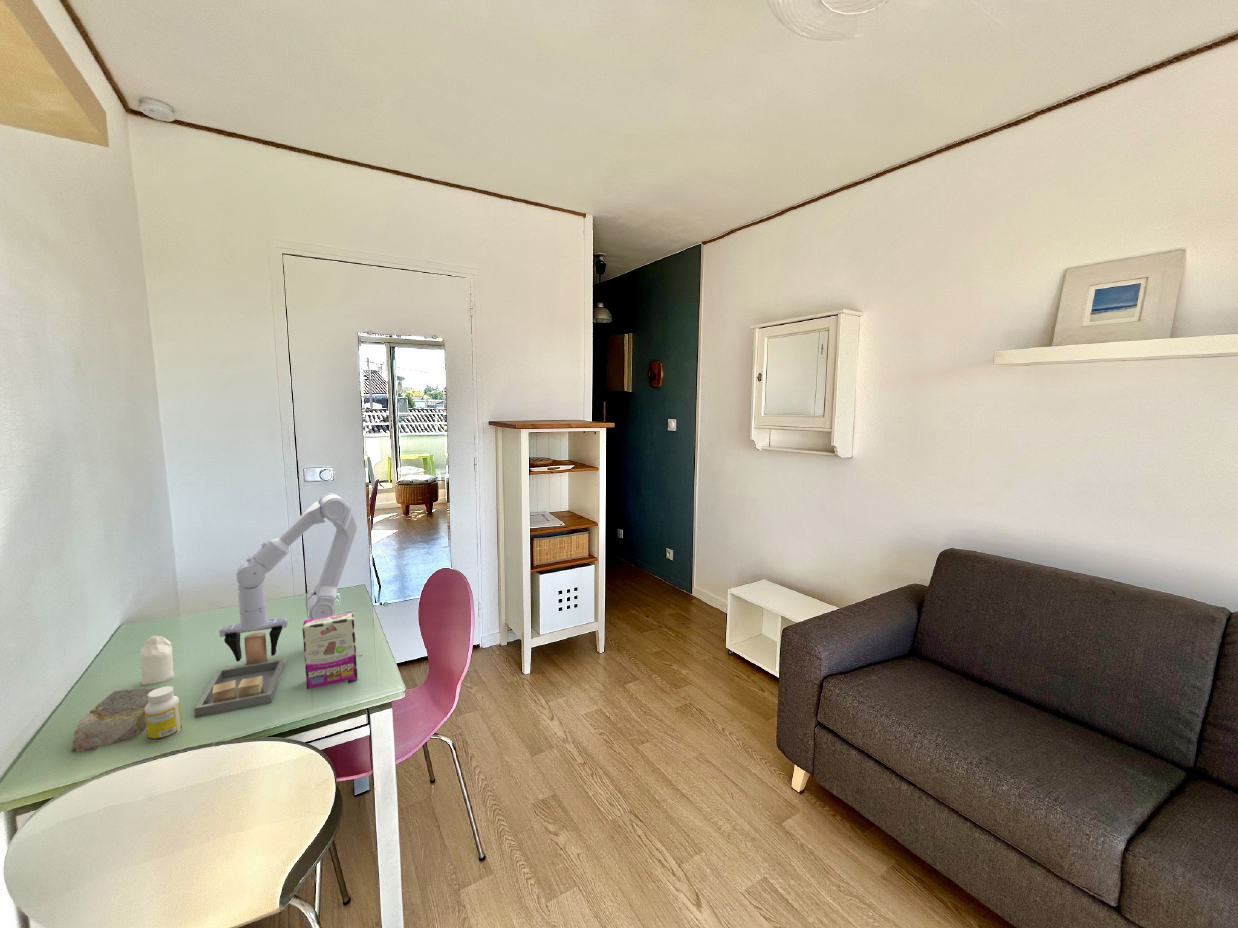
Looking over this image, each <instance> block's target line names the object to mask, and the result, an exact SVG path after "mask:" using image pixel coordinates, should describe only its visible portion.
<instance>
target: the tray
mask: <svg viewBox="0 0 1238 928" xmlns="http://www.w3.org/2000/svg"><path fill="white" fill-rule="evenodd" d="M285 666H286V665H285V658H283V659H275V660H270V661H268V660H267V662H262V663H256V664H250V665H246V664H245V665H239V666H234V667H233V666H232V667H226V668H221V669H218V670H217V671H216V673H215V674H214V676H213V678H212V680H211V681H210V682H209V684H208V686H207V687H206V689H205V690H204V692H203V694H202V695H201V698H200V699H199V701H198V702H197V704H196V706H195V707H194V718H198V717H204V716H205V717H206V716H209V715H214V714H219V713H224V712H230V711H235V710H241V709H245V708H251V707H256V706H261V705H262V706H263V705H266V704H271V703H272V702H273V699H274V696H275V693H276V690H277V689H278V685H279V683H280V680H281V678H282V675H283V672H284V669H285ZM259 676H263V688H264V692H263V694H259V695H253V696H248V697H242V698H239V696H238V687H239V685H240V683H241V681H242V679H247V678H253V677H259ZM233 680H235V681H236V693H237V698H236V699H232V700H226V701H221V702H216V703H213V695H212V692H213V687H214V685H216V684H220V683H224V682H229V681H233Z"/></svg>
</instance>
